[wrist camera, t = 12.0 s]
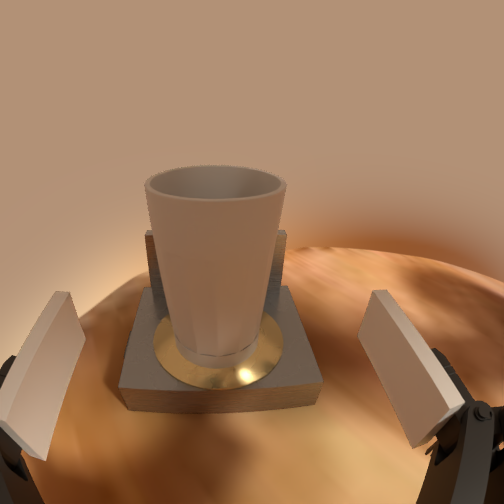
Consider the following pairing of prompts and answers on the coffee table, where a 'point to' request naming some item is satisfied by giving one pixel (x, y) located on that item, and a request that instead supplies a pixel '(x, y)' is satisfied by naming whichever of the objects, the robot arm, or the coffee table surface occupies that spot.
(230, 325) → the cup
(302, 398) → the grey holder block
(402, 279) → the coffee table surface
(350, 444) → the coffee table surface
